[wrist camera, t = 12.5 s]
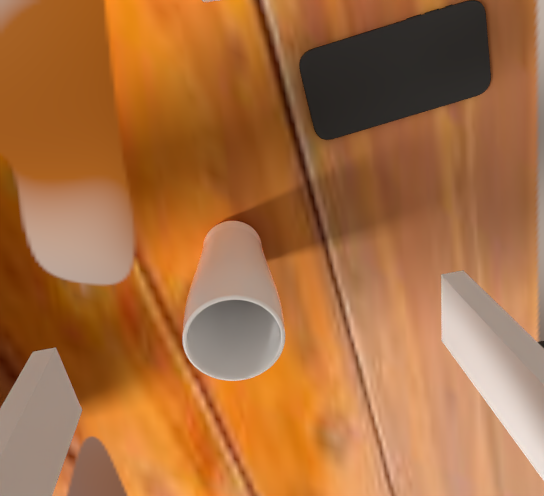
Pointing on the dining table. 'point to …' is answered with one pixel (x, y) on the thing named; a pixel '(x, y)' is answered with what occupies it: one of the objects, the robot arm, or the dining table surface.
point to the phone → (397, 70)
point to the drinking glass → (233, 307)
